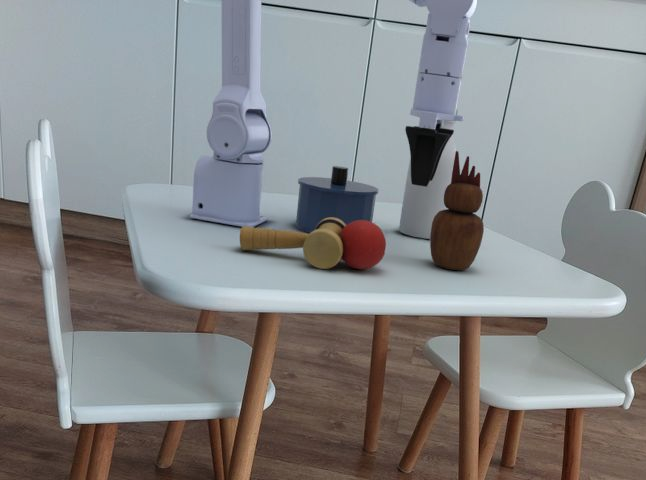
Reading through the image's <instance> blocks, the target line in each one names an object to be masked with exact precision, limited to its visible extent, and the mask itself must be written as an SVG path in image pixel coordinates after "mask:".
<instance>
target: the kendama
mask: <svg viewBox="0 0 646 480" xmlns="http://www.w3.org/2000/svg"><path fill="white" fill-rule="evenodd" d="M385 236H386V235H385V234H384V232H383V230H382V229H381V227H379V226H378V225H377V224H376V223H374V222H373V221H372V222H370V221H366V220H357V221H354V222H351V223H349V224H348V225H346V224H345V223H344V222H343V221H341V220H340V219H338V218H334V217H329V218H325V219H323V220H322V221H320V222H319V223H318V225H317V226H316V228H315V230H314V231H312V232H311V233H307V232H300V231H294V230H286V229H274V228H263V227H255V226H254V227H247V226H243V227H241V229H240V231H239V245H240V248H241V250H242V251H255V250H257V251H259V250H291V249H292V250H293V249H300V248H302V252H303V256H304V258H305V260H306V261H307V263H309V264H310V265H311V266H313V267H314V268H317V269H321V270H328V269H331V268H333V267H335V266H337V264H338V263H339V262H340V261H343V263H344V264H346V265H347V266H348V267H350V268H352V269H355V270H368V269H371V268H374V267H376V266H377V265H378V264H379V263H380V262H381V261H382V260H383V258H384V256H385V254H386V253H385V252H386V248H387V247H386V246H387V240H386V237H385Z"/></svg>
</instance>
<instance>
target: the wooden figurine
mask: <svg viewBox="0 0 646 480" xmlns="http://www.w3.org/2000/svg"><path fill="white" fill-rule="evenodd" d="M469 166H470V156H469V155H467V156H466V158H465V160H464V164H463V167H462V170H461V168H460V167H461V165H460V155H459V151H458V150H456V153H455V159H454V165H453V171H452V178H451V184H449V185H448V186H447V188H446V190H445V193H444V205H445V207H446V208H448V209H446V210H442V211H439V212H438V213H437V214H436V215H435V217H434V219H433V222H432V227H431V235H430V239H429V249H430V256H431V259H432V261H433V264H435V265H436V266H438V267H440V268H442V269H445V270H449V271H450V270H451V271H465V270H467V269H469V268H470V267H471V265H472V264H473V263H474V261H475V260H476V257H477V256H478V253H479V250H480V247H481V245H482V241H483V237H484V231H485V230H484V229H485V228H484V222H483V220H482V218H481V217H480V216H478V214H476V213H477V212H479V210H480V208H481V207H482V203H483V199H484V194H483V190H482V188H481V173H480V172H477V173H476V166H475V165H472V167H471V169H470V167H469ZM469 170H470V171H469Z"/></svg>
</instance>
